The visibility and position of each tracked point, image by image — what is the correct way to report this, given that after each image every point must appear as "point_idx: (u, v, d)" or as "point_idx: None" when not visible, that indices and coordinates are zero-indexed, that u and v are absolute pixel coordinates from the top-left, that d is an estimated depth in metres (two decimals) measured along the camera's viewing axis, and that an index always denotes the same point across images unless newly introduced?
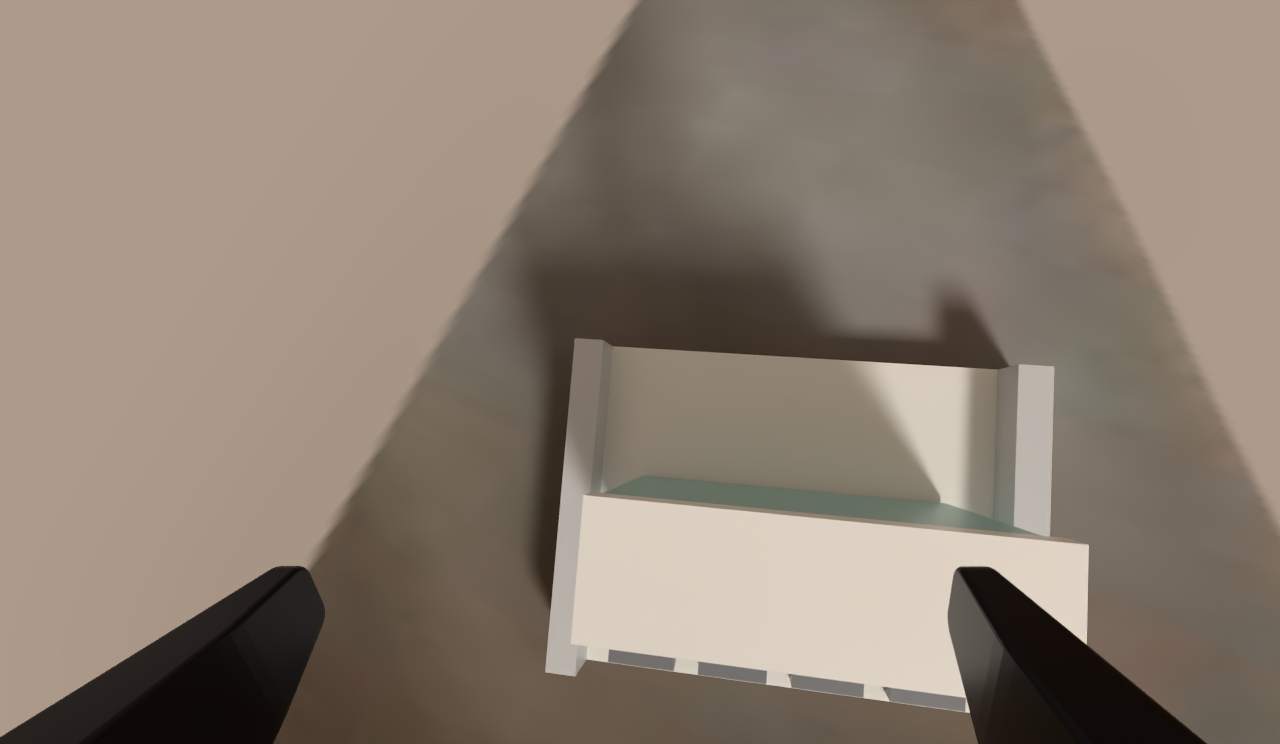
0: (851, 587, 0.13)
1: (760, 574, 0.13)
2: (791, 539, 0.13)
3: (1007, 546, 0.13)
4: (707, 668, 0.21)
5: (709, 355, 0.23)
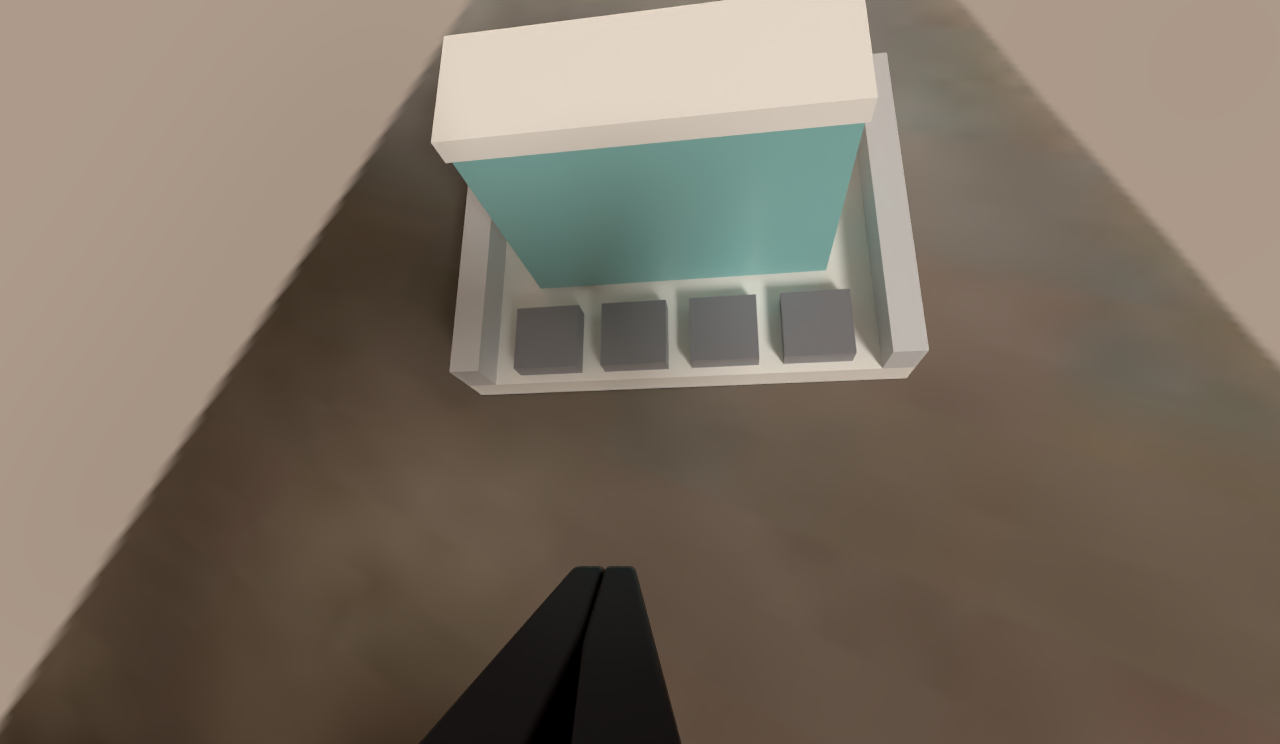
0: (672, 51, 0.15)
1: (594, 58, 0.15)
2: (619, 29, 0.15)
3: None
4: (609, 357, 0.21)
5: None
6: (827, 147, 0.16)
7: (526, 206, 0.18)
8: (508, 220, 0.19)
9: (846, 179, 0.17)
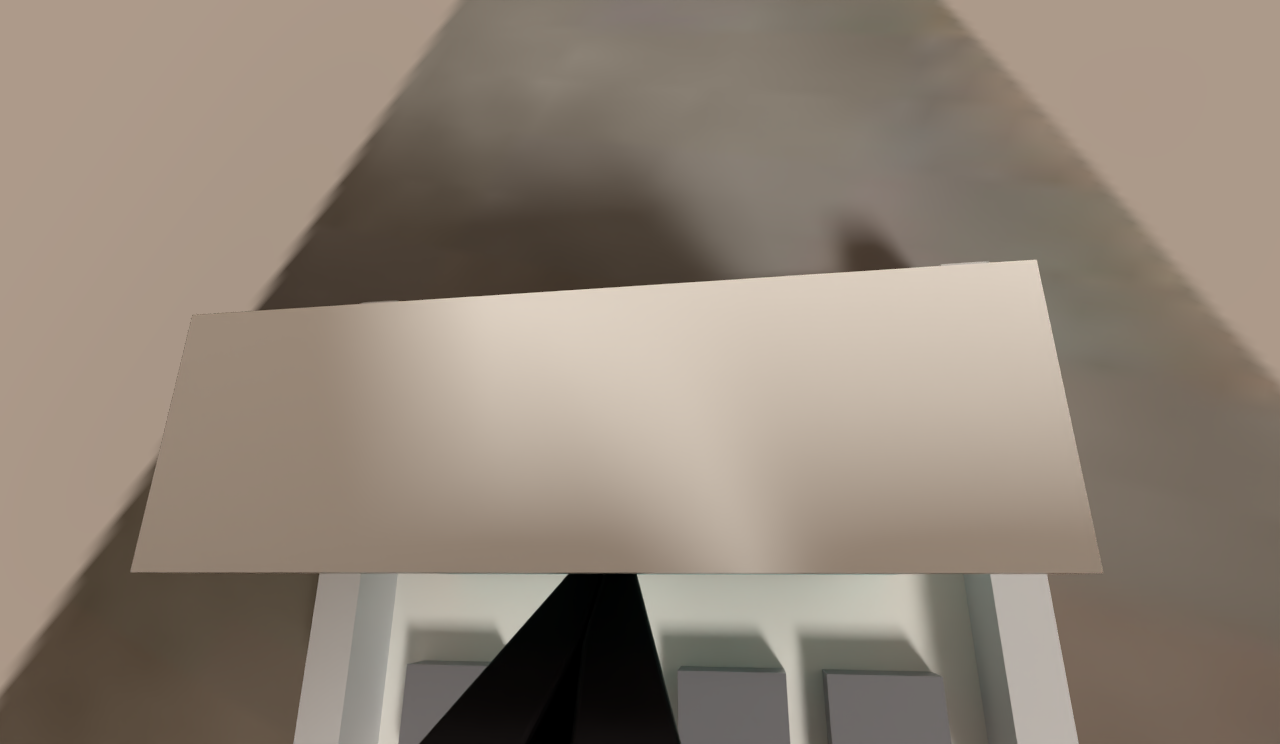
0: (629, 394, 0.07)
1: (470, 397, 0.07)
2: (523, 330, 0.08)
3: (896, 284, 0.07)
4: None
5: None
6: None
7: None
8: None
9: None
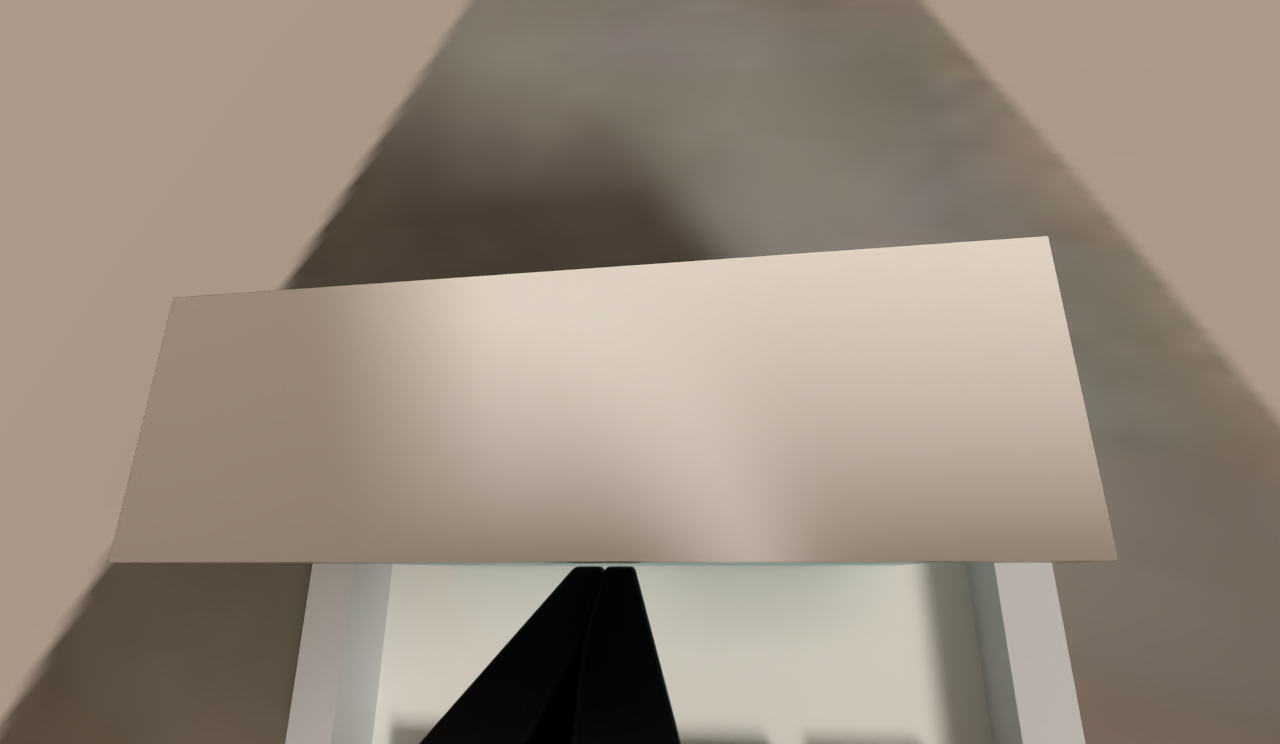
0: (624, 377, 0.07)
1: (460, 381, 0.07)
2: (514, 312, 0.07)
3: (901, 262, 0.07)
4: None
5: None
6: None
7: None
8: None
9: None
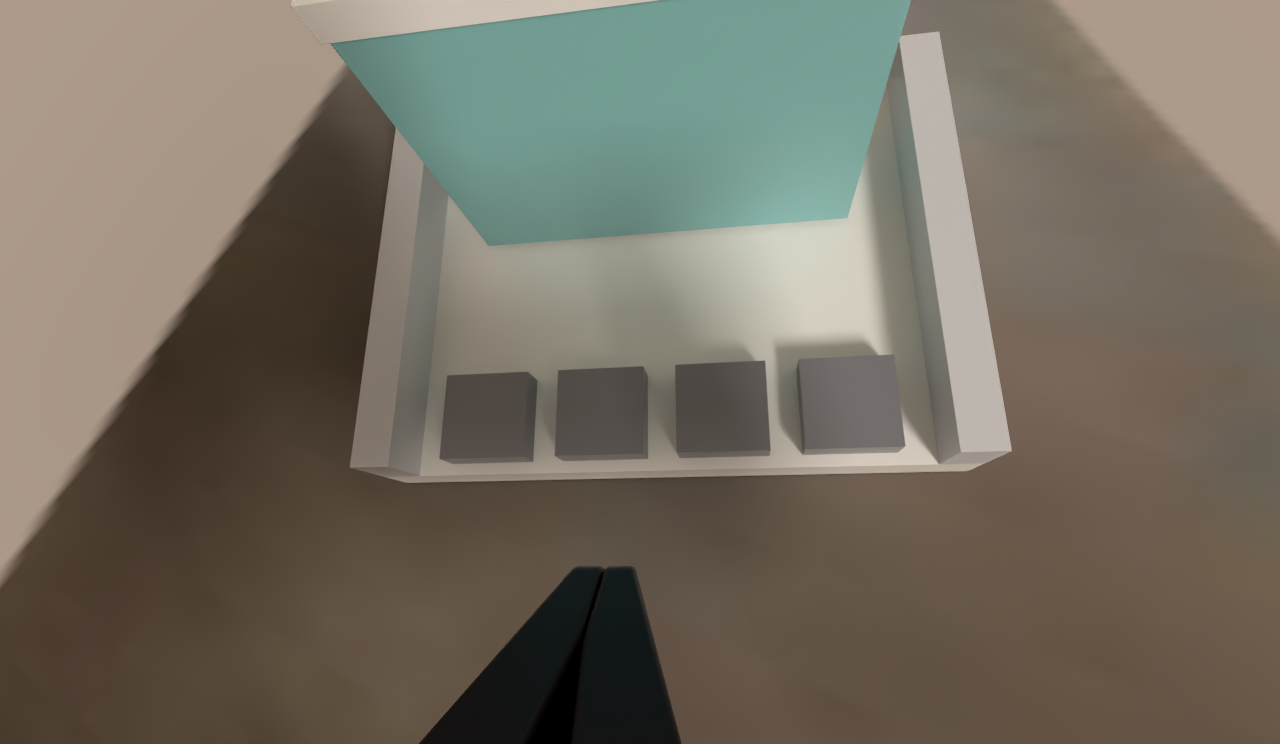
0: None
1: None
2: None
3: None
4: (566, 445, 0.16)
5: None
6: (862, 14, 0.11)
7: (448, 119, 0.13)
8: (428, 143, 0.14)
9: (884, 72, 0.12)
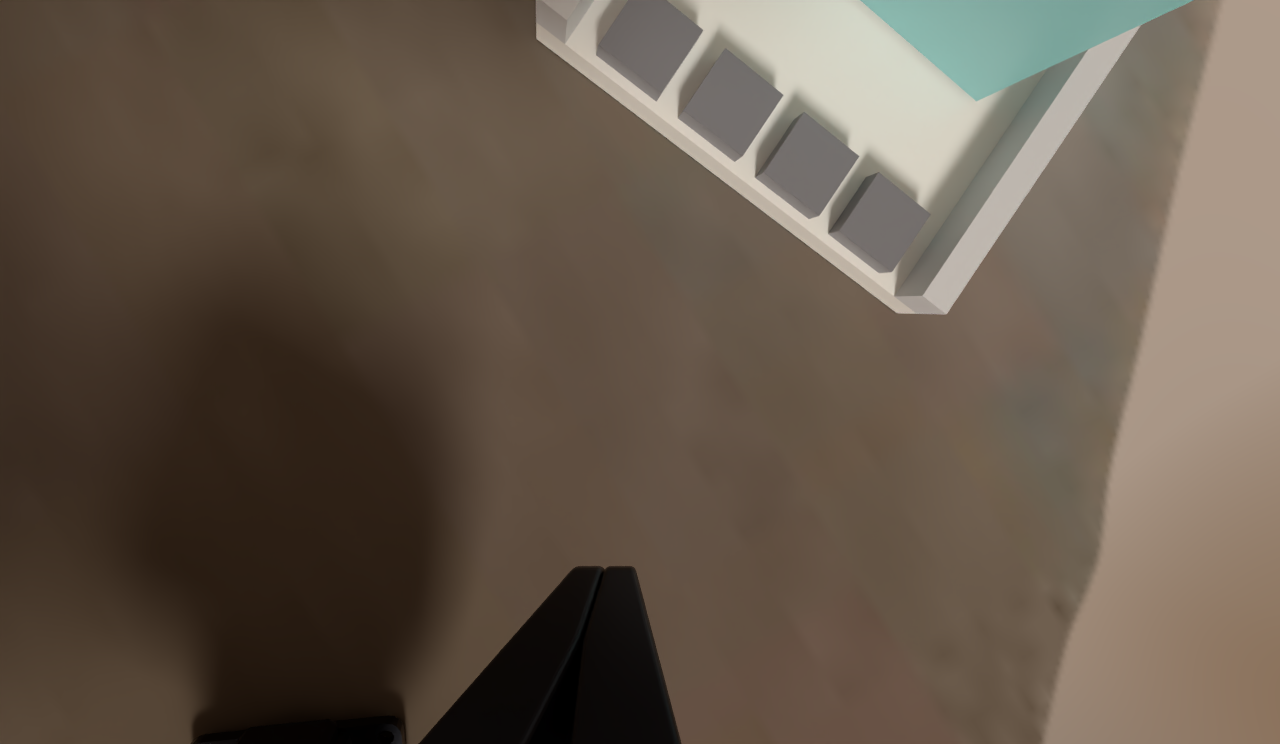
0: None
1: None
2: None
3: None
4: (696, 110, 0.19)
5: None
6: None
7: None
8: None
9: (1118, 31, 0.16)
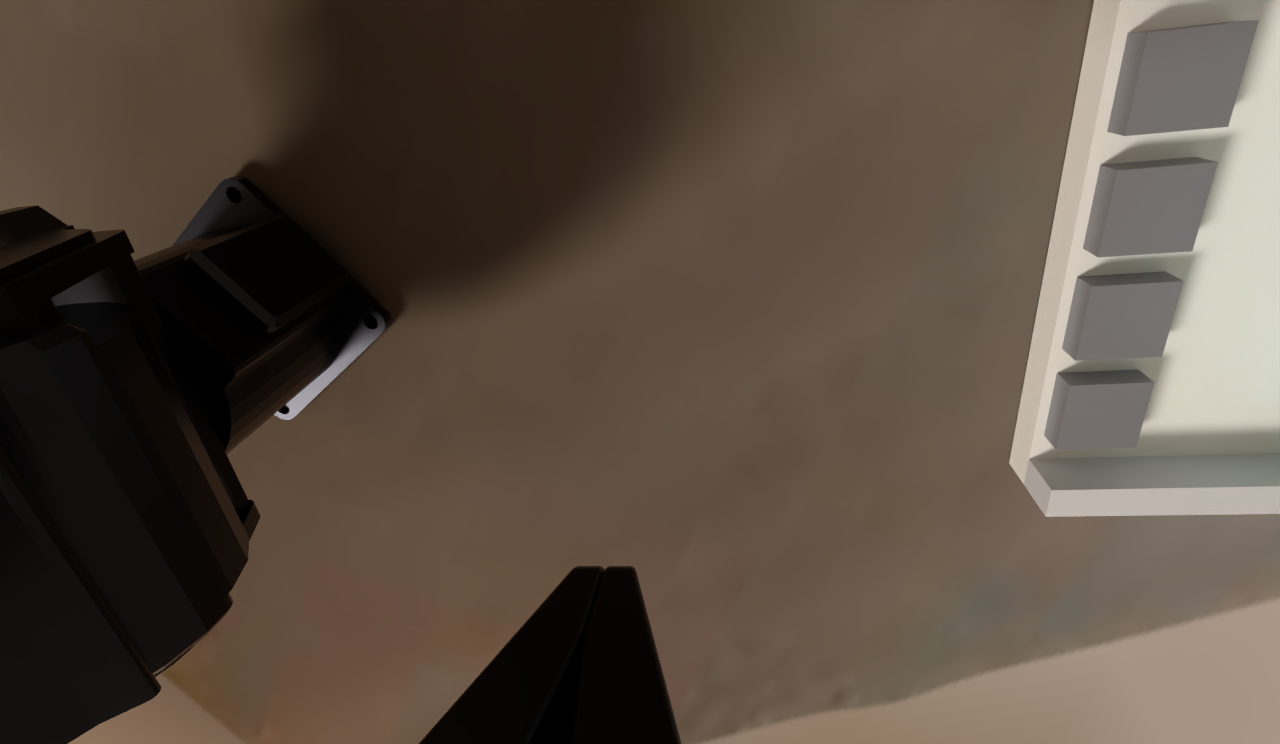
0: None
1: None
2: None
3: None
4: (1125, 182, 0.16)
5: None
6: None
7: None
8: None
9: None
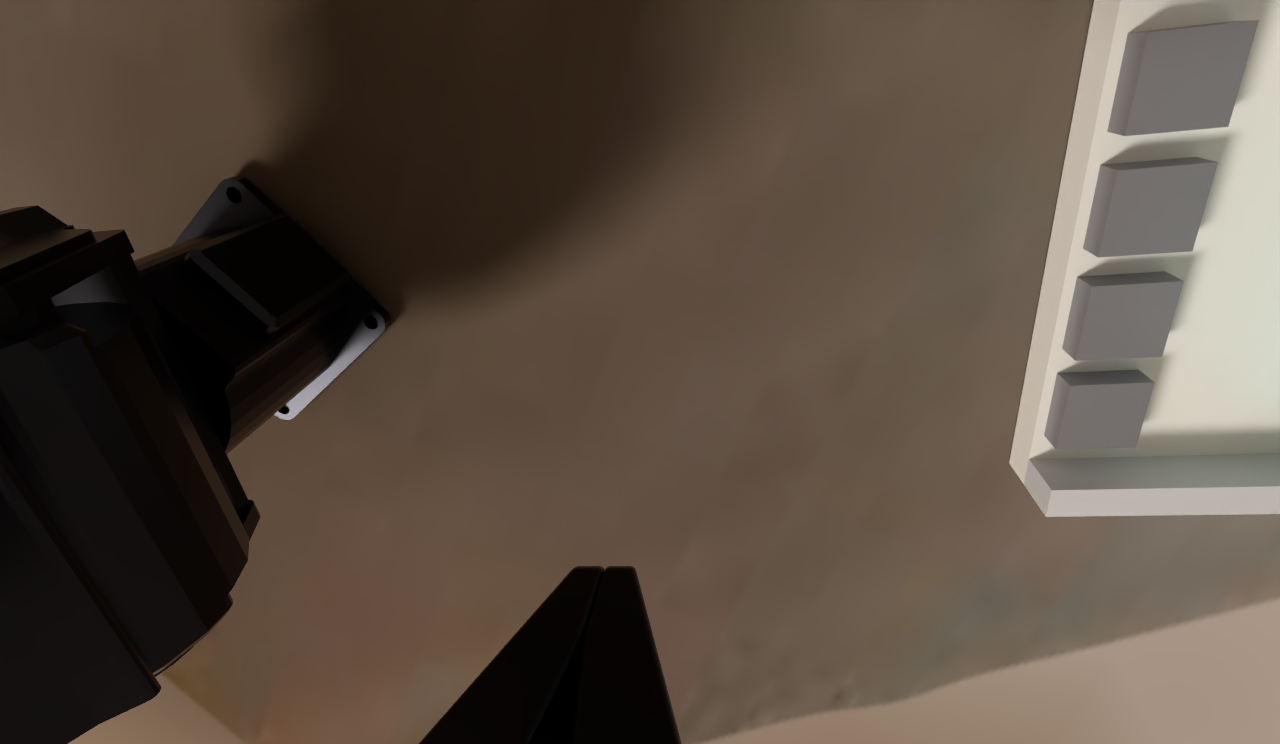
0: None
1: None
2: None
3: None
4: (1125, 182, 0.16)
5: None
6: None
7: None
8: None
9: None
